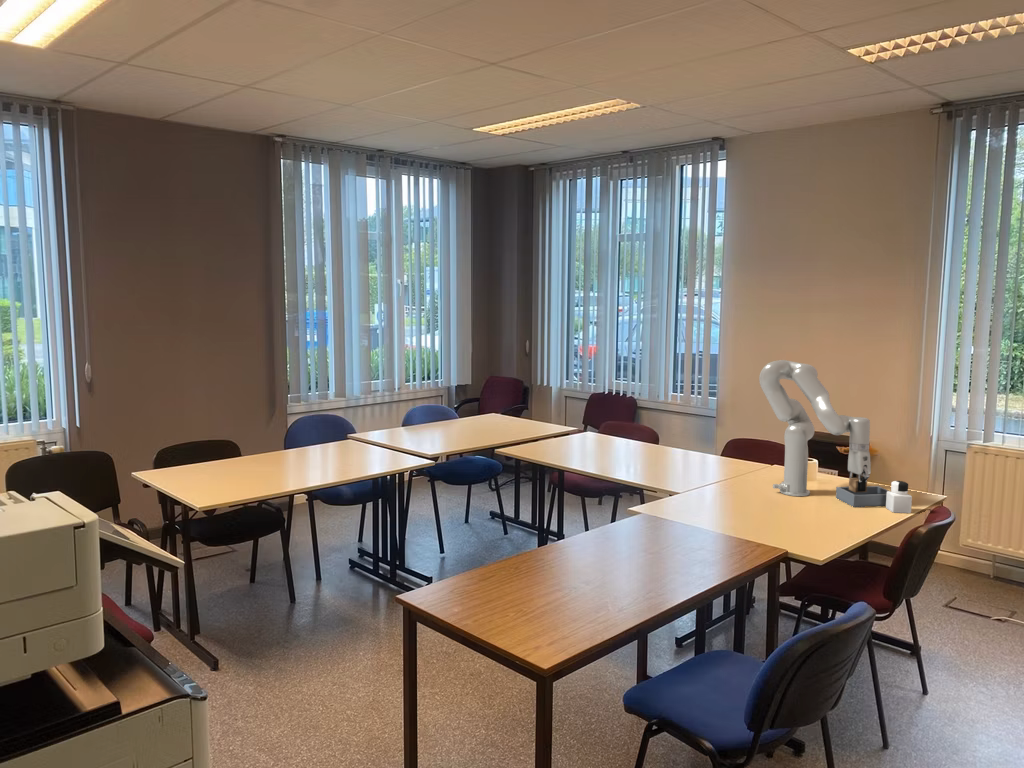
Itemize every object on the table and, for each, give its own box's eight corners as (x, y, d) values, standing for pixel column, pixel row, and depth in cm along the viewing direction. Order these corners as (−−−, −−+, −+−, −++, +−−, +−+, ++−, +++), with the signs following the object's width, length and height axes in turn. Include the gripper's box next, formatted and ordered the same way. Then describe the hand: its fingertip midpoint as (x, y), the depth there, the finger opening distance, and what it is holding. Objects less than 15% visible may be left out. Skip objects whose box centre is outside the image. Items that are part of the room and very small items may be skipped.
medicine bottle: (903, 508, 300) (905, 479, 299) (911, 513, 293) (913, 484, 292) (885, 508, 301) (887, 479, 299) (892, 512, 294) (894, 483, 292)
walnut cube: (866, 491, 306) (867, 480, 305) (855, 492, 305) (855, 480, 305) (860, 489, 311) (860, 477, 310) (848, 489, 310) (849, 477, 310)
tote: (853, 507, 301) (854, 495, 301) (835, 498, 315) (836, 487, 315) (897, 506, 303) (898, 494, 302) (877, 497, 317) (878, 486, 316)
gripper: (879, 450, 298) (877, 494, 300) (856, 443, 315) (855, 484, 317) (861, 451, 297) (860, 494, 299) (839, 443, 314) (838, 485, 316)
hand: (857, 489), depth 308 cm, fingers closed on walnut cube, 4 cm apart
